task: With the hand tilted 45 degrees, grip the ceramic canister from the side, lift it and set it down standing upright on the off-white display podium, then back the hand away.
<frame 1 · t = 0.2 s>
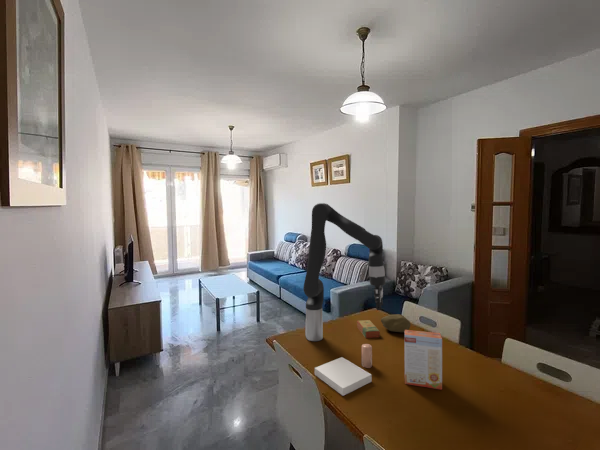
hand: (379, 307, 147), 23 cm above the table, tool pointing down, fingers open, 8 cm apart
carton: (367, 332, 172), on the table
cracker box: (422, 383, 121), on the table
canister: (366, 365, 135), on the table
decorative stone: (395, 331, 172), on the table
display podium: (342, 378, 126), on the table
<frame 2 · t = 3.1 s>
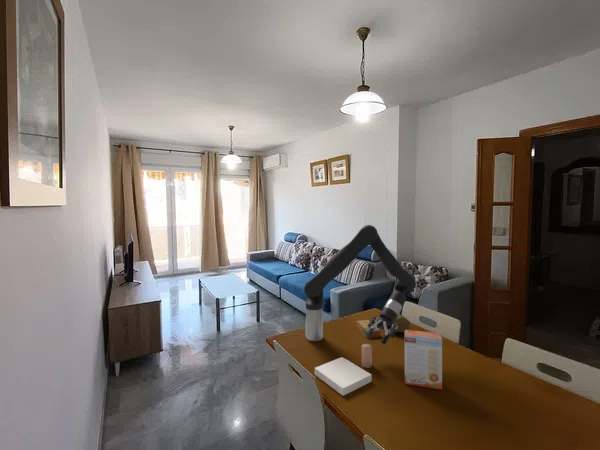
hand: (375, 340, 138), 10 cm above the table, tool tilted 45°, fingers open, 8 cm apart
nothing on the table moved.
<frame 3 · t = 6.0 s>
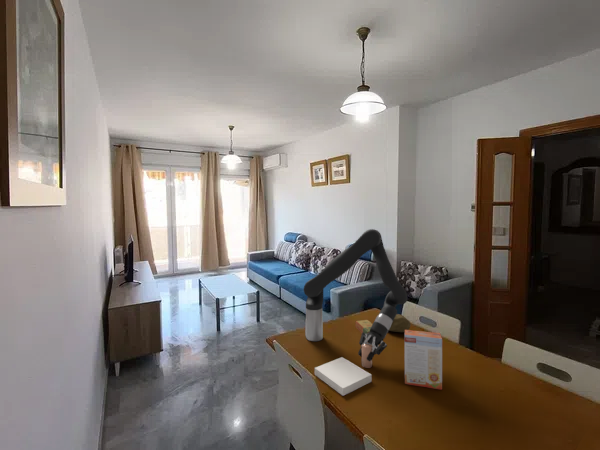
hand: (363, 357, 134), 4 cm above the table, tool tilted 45°, fingers closed on canister, 4 cm apart
canister: (366, 365, 135), on the table, touching gripper
everything else where it was.
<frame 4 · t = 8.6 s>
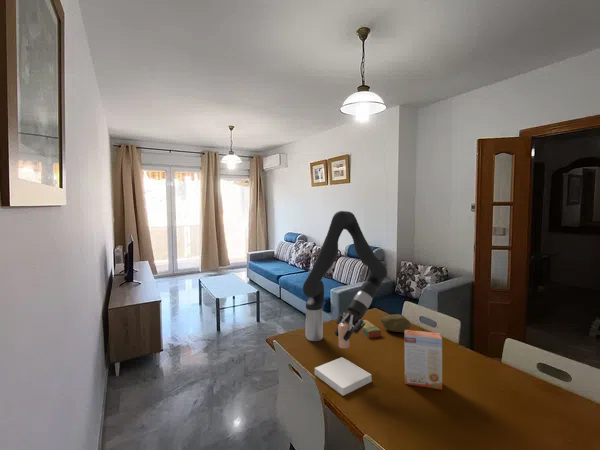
hand: (340, 337, 124), 18 cm above the table, tool tilted 45°, fingers closed on canister, 4 cm apart
canister: (343, 345, 125), point 14 cm above the table, touching gripper
everything else where it was.
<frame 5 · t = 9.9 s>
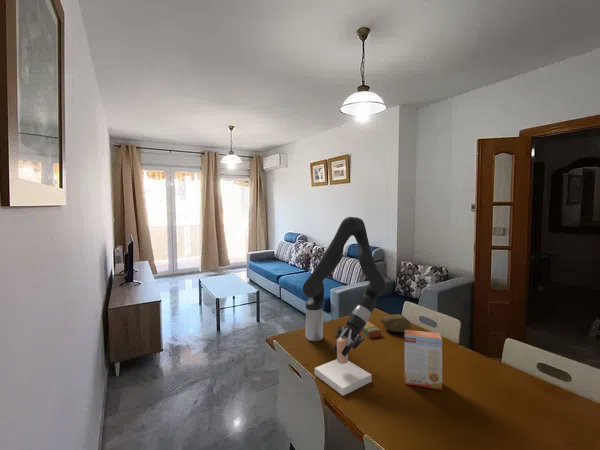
hand: (339, 352, 124), 12 cm above the table, tool tilted 45°, fingers closed on canister, 4 cm apart
canister: (342, 360, 125), point 8 cm above the table, touching gripper
when the fingers open (9 cm above the table, at t = 11.3 s): canister drops 1 cm, resting on display podium.
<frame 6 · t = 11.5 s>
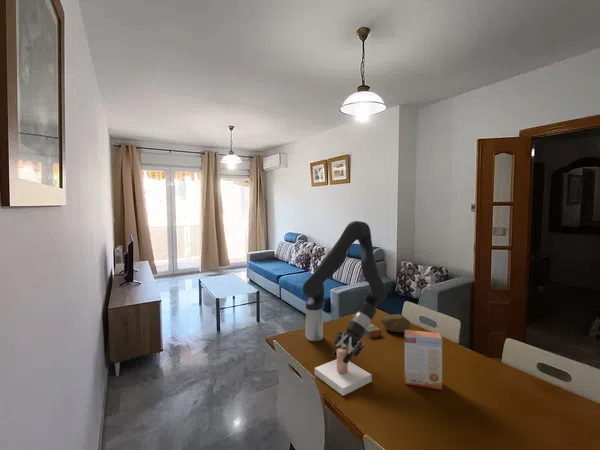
hand: (339, 359, 124), 9 cm above the table, tool tilted 45°, fingers open, 6 cm apart
canister: (342, 370, 125), point 3 cm above the table, touching display podium
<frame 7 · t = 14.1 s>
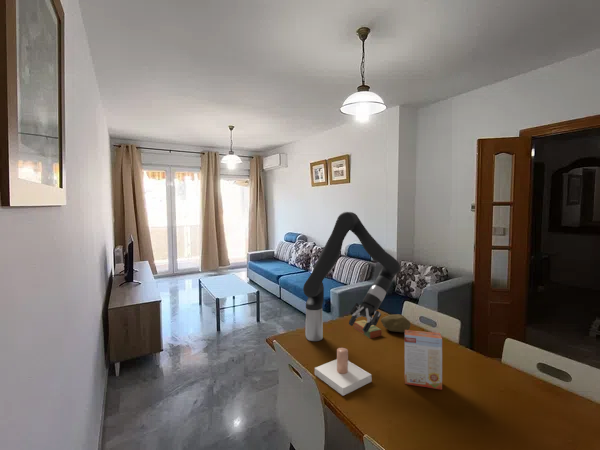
hand: (357, 328, 130), 19 cm above the table, tool tilted 45°, fingers open, 8 cm apart
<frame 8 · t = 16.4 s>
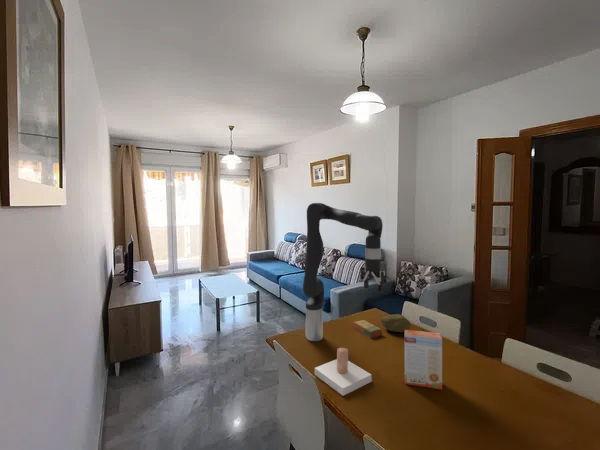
hand: (373, 290, 143), 32 cm above the table, tool pointing down, fingers open, 8 cm apart
at the end: canister inside the target area on the display podium (0.1 cm from its centre), point 3.1 cm above the display podium's base; canister tilted 2°; the gripper is holding nothing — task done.
